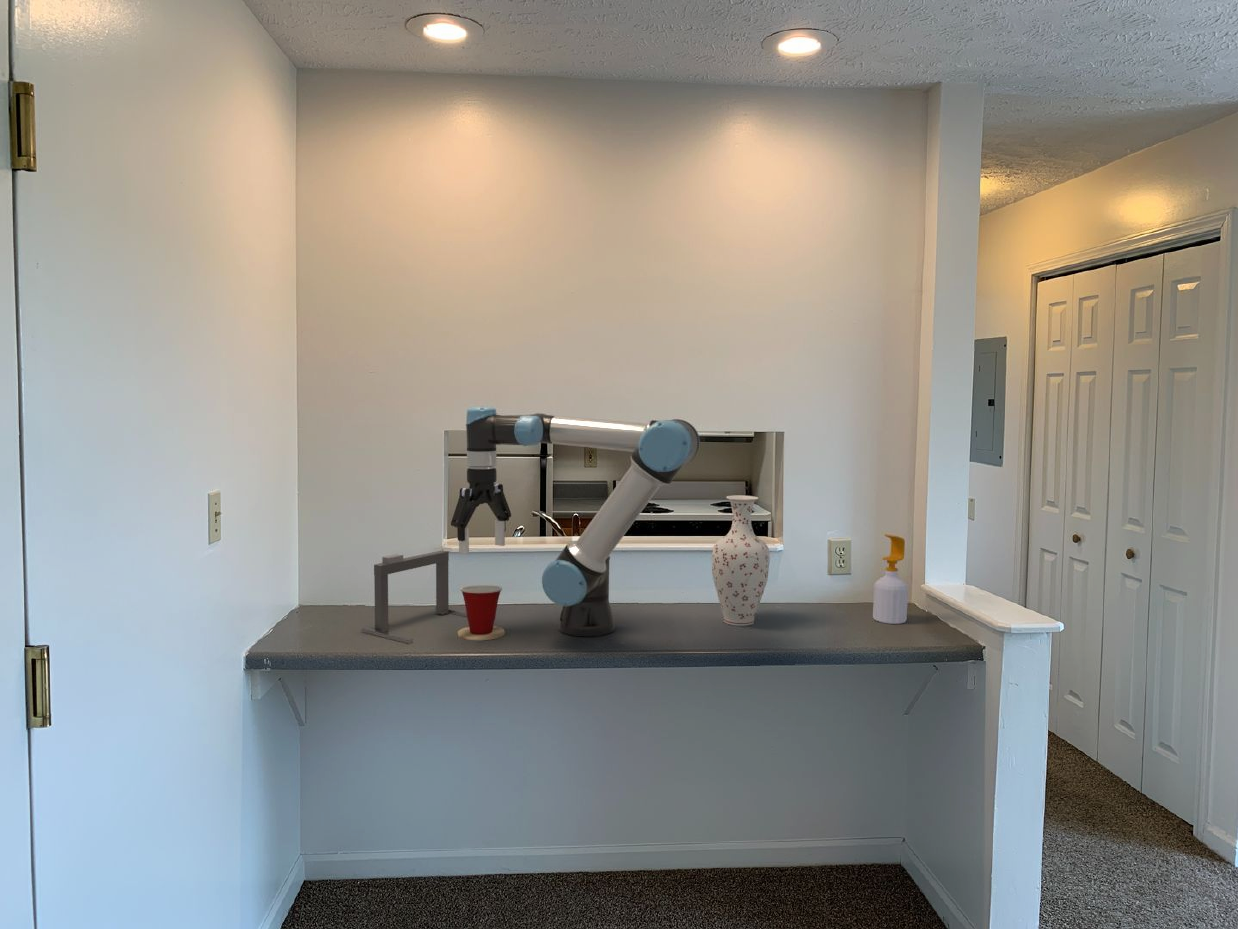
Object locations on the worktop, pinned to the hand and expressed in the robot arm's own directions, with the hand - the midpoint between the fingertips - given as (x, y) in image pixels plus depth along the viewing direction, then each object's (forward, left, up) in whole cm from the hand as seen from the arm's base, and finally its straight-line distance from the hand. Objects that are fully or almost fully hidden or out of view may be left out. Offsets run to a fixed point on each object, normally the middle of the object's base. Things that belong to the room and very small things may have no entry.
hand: (482, 549), depth 222 cm
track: (+18, +3, -22) cm, 29 cm away
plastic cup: (0, 0, -22) cm, 22 cm away
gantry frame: (+22, +3, -22) cm, 32 cm away
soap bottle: (-83, -78, -23) cm, 116 cm away
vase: (-49, -51, -23) cm, 74 cm away
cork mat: (0, 0, -22) cm, 22 cm away
